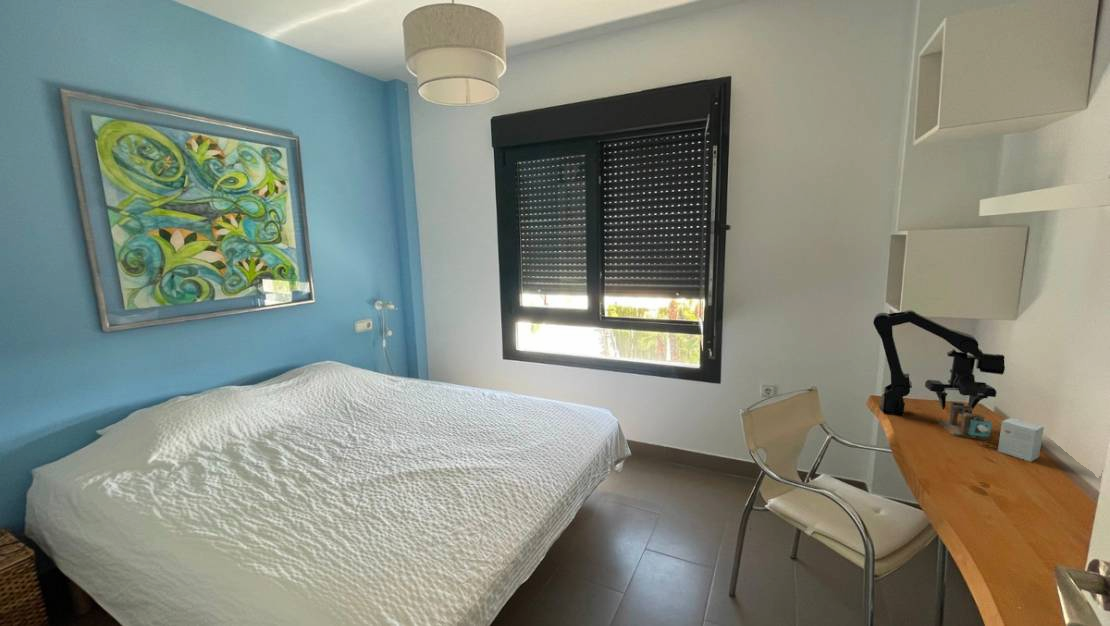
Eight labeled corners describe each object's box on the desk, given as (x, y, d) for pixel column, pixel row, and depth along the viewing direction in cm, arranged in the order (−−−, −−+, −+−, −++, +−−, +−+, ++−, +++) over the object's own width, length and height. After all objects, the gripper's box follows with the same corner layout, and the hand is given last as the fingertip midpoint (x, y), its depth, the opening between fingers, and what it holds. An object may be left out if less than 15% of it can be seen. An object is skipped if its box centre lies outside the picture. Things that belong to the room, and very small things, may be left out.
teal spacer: (970, 434, 149) (972, 420, 148) (968, 433, 150) (970, 419, 149) (989, 437, 147) (991, 422, 146) (987, 435, 148) (989, 421, 147)
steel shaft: (977, 435, 146) (979, 424, 145) (949, 411, 165) (950, 401, 164) (990, 437, 145) (992, 425, 144) (960, 412, 164) (961, 402, 163)
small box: (1039, 458, 139) (1045, 426, 137) (1030, 462, 137) (1037, 430, 135) (1004, 447, 146) (1010, 417, 144) (996, 451, 144) (1002, 420, 142)
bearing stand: (953, 436, 154) (956, 414, 153) (937, 421, 166) (940, 400, 165) (990, 440, 151) (994, 418, 149) (971, 424, 163) (974, 403, 161)
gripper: (940, 373, 157) (933, 415, 159) (1008, 379, 150) (1001, 422, 153) (927, 364, 167) (921, 404, 170) (991, 369, 160) (984, 410, 163)
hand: (956, 410), depth 164 cm, fingers open, 7 cm apart
